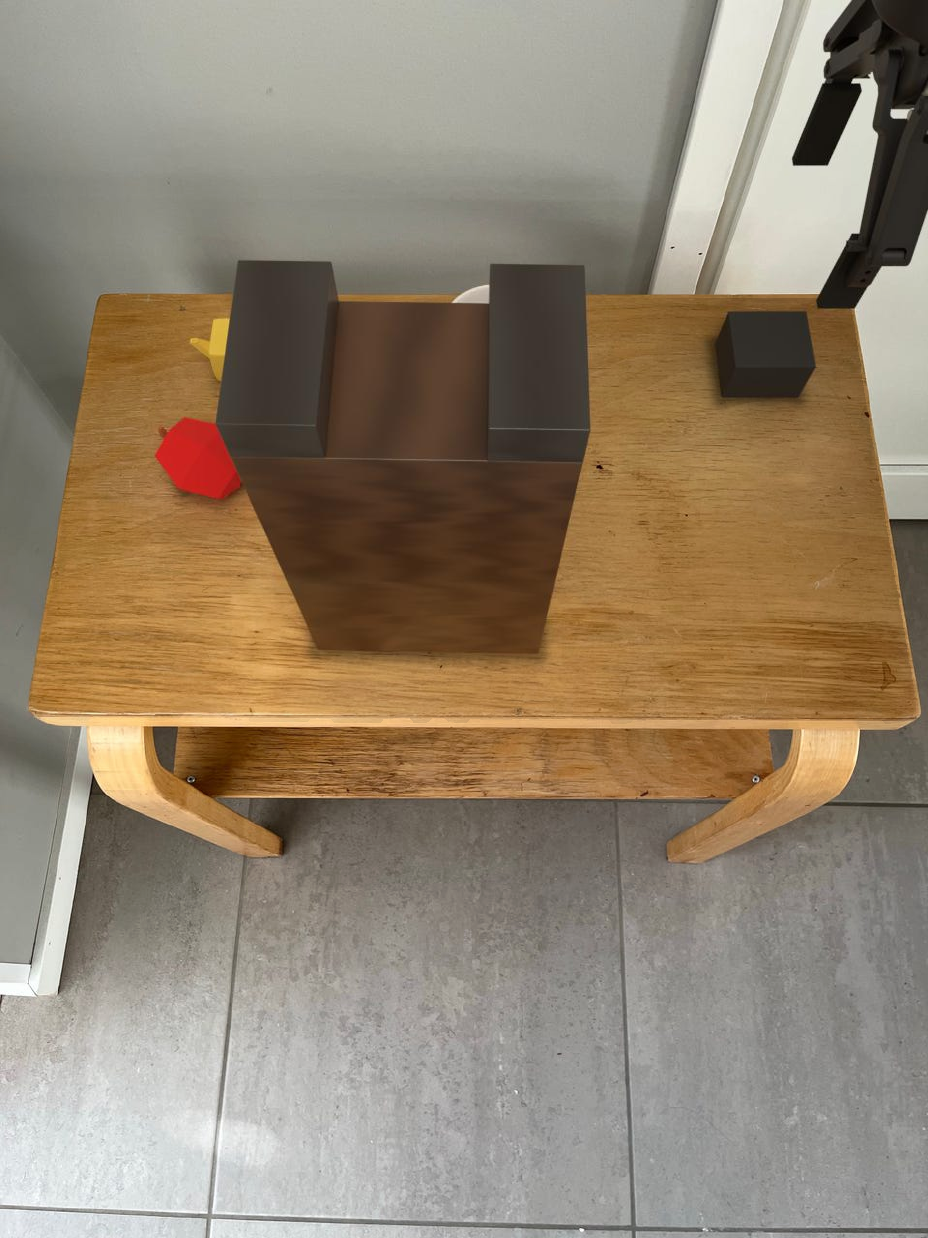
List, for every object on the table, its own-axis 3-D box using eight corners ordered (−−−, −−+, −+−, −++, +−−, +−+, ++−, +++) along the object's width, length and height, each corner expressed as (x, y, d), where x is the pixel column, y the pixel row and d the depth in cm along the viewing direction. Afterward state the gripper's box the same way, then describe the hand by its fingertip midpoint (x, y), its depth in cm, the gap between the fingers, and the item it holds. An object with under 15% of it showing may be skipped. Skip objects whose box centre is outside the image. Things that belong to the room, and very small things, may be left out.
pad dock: (537, 543, 78) (584, 264, 47) (538, 654, 74) (590, 430, 44) (326, 539, 78) (237, 258, 47) (317, 650, 75) (214, 424, 44)
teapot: (197, 399, 83) (181, 363, 78) (205, 346, 85) (189, 309, 80) (285, 400, 83) (274, 365, 78) (290, 347, 85) (280, 310, 80)
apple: (263, 445, 75) (179, 386, 74) (215, 512, 74) (130, 454, 73) (264, 459, 82) (187, 405, 81) (220, 521, 81) (142, 468, 80)
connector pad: (789, 343, 85) (806, 310, 81) (798, 397, 83) (816, 366, 79) (715, 343, 85) (728, 310, 81) (721, 397, 83) (735, 367, 79)
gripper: (861, -212, 53) (753, 108, 73) (942, 104, 44) (793, 370, 64) (990, -212, 53) (846, 107, 73) (1096, 104, 44) (900, 369, 64)
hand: (821, 231), depth 69 cm, fingers open, 13 cm apart
